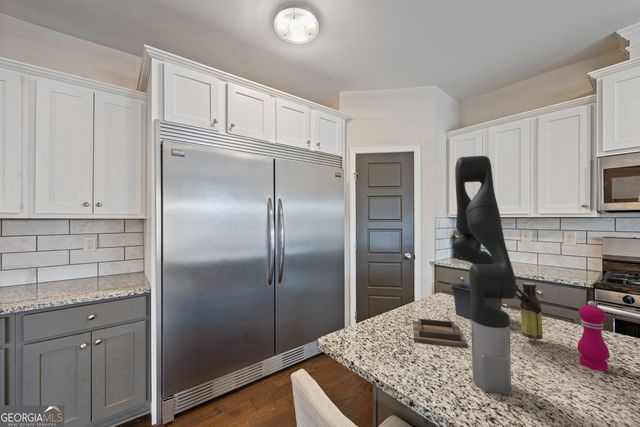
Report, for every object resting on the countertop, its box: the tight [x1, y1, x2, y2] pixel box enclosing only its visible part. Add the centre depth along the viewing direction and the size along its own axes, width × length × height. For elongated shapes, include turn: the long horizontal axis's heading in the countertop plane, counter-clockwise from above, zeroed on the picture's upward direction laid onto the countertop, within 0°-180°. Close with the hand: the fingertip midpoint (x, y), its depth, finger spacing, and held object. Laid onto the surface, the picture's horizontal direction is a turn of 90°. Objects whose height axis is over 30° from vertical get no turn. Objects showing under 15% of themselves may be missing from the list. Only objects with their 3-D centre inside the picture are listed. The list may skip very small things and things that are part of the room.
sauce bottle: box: [519, 281, 544, 341], centre depth 104 cm, size 6×6×20 cm
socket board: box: [412, 318, 468, 349], centre depth 110 cm, size 18×18×4 cm
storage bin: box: [449, 281, 503, 319], centre depth 129 cm, size 21×16×14 cm
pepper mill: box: [576, 300, 610, 371], centre depth 87 cm, size 7×7×20 cm
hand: (536, 309), depth 103 cm, fingers closed on sauce bottle, 6 cm apart
